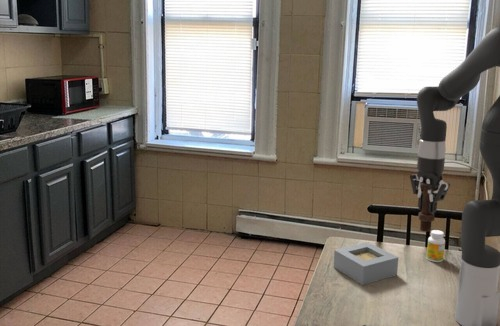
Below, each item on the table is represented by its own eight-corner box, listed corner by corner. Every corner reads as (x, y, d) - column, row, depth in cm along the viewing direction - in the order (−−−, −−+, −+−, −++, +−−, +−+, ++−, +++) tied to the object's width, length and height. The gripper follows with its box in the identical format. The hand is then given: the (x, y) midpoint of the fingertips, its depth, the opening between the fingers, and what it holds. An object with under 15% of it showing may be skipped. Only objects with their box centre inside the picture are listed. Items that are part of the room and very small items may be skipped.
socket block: (397, 275, 165) (398, 257, 164) (362, 284, 158) (363, 266, 157) (367, 258, 177) (368, 242, 175) (333, 267, 170) (334, 250, 169)
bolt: (435, 234, 156) (439, 185, 153) (417, 233, 157) (421, 184, 154) (432, 227, 162) (436, 180, 158) (415, 226, 163) (419, 179, 159)
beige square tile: (382, 264, 166) (382, 259, 165) (364, 268, 162) (364, 264, 162) (366, 255, 172) (366, 251, 171) (348, 260, 168) (349, 255, 168)
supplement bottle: (422, 257, 178) (425, 230, 176) (435, 254, 180) (437, 228, 178) (434, 263, 174) (437, 236, 171) (446, 260, 176) (449, 233, 173)
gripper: (460, 158, 150) (454, 216, 154) (422, 149, 162) (418, 203, 166) (441, 161, 146) (436, 220, 150) (404, 151, 158) (400, 206, 162)
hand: (426, 210), depth 158 cm, fingers closed on bolt, 3 cm apart
